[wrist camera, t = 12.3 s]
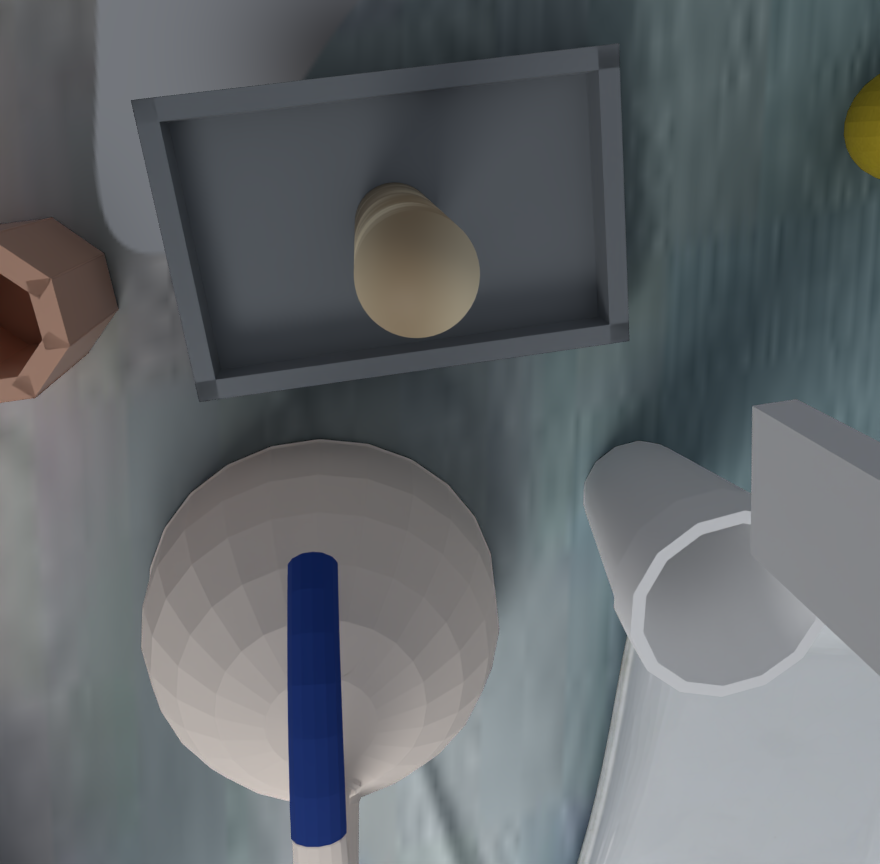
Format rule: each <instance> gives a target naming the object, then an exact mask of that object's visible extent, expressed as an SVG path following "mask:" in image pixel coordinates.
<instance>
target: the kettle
mask: <svg viewBox="0 0 880 864" xmlns="http://www.w3.org/2000/svg"><path fill="white" fill-rule="evenodd" d="M498 634H499V622H498V612H497V603H496V594H495V586H494V577H493V568H492V559H491V553H490V550H489V548H488V546H487V543H486V541H485V539H484V536H483V534H482V532H481V529H480V527H479V525H478V522H477V520H476V518H475V516H474V515H473V514H472V513H471V511H470V510H469V509H468V508H467V507H466V505H465V504H464V503H463V502H462V501H461V499H460V498H459V497H458V496H457V495H456V493H455V492H454V491H453V490H452V488H451V487H450V486H449V485H448V484H447V483H445V482H444V481H442V480H441V479H439V478H438V477H436V476H435V475H434V474H432V473H431V472H429V471H428V470H426V469H425V468H423V467H422V466H420V465H419V464H418V463H416V462H415V461H413V460H412V459H409V458H406V457H403V456H401V455H398V454H395V453H392V452H389V451H387V450H384V449H381V448H378V447H376V446H373V445H370V444H365V443H355V442H345V441H334V440H324V439H317V440H310V441H304V442H297V443H290V444H283V445H277V446H271V447H269V448H266V449H264V450H262V451H259V452H257V453H254V454H252V455H250V456H247V457H245V458H242V459H240V460H238V461H235V462H233V463H230V464H228V465H226V466H225V467H224V468H222V469H221V470H220V471H219V472H217V473H216V474H215V475H213V476H212V477H211V478H209V479H208V480H207V481H206V482H204V483H203V484H202V485H200V486H199V487H198V488H196V489H195V490H194V491H193V492H191V493H190V494H189V496H188V497H187V499H186V500H185V501H184V503H183V504H182V505H181V507H180V508H179V509H178V511H177V512H176V513H175V515H174V516H173V517H172V519H171V520H170V521H169V523H168V524H167V525H166V527H165V528H164V531H163V533H162V536H161V539H160V542H159V545H158V547H157V550H156V553H155V556H154V558H153V561H152V564H151V567H150V579H149V583H148V587H147V591H146V595H145V599H144V603H143V612H142V642H141V649H142V652H143V656H144V659H145V663H146V666H147V670H148V673H149V677H150V680H151V684H152V687H153V690H154V693H155V696H156V698H157V701H158V704H159V707H160V709H161V712H162V713H163V715H164V716H165V718H166V719H167V721H168V722H169V724H170V725H171V727H172V729H173V730H174V732H175V733H176V735H177V736H178V738H179V739H180V741H181V742H182V744H184V745H185V746H186V747H187V748H188V749H189V750H190V751H192V752H193V753H194V754H195V755H196V756H197V757H199V758H200V759H201V760H202V761H203V762H204V763H205V764H207V765H208V766H209V767H210V768H211V769H213V770H214V771H216V772H218V773H220V774H221V775H223V776H225V777H226V778H228V779H230V780H232V781H234V782H236V783H238V784H240V785H242V786H244V787H246V788H248V789H250V790H252V791H254V792H256V793H258V794H262V795H266V796H270V797H274V798H278V799H282V800H286V801H290V820H291V839H292V840H293V864H358V860H359V801H360V799H361V797H363V796H365V795H368V794H370V793H373V792H375V791H378V790H380V789H383V788H385V787H388V786H390V785H392V784H395V783H396V782H398V781H400V780H401V779H403V778H404V777H406V776H408V775H409V774H411V773H412V772H413V771H415V770H416V769H418V768H419V767H421V766H422V765H424V764H425V763H427V762H428V761H429V760H431V759H432V758H434V757H435V756H437V755H438V754H440V753H441V751H442V750H443V749H444V748H445V747H446V746H447V745H448V744H449V743H450V741H451V740H452V739H453V738H454V737H455V736H456V735H457V734H458V733H459V731H460V730H461V729H462V728H463V727H464V726H465V725H466V723H467V721H468V719H469V717H470V715H471V713H472V711H473V709H474V707H475V705H476V703H477V701H478V699H479V697H480V695H481V693H482V691H483V689H484V686H485V684H486V681H487V679H488V676H489V674H490V671H491V669H492V665H493V660H494V655H495V650H496V644H497V639H498Z"/></svg>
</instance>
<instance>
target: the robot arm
mask: <svg viewBox="0 0 880 864" xmlns="http://www.w3.org/2000/svg"><path fill="white" fill-rule="evenodd" d="M750 554H751V555H752V556H753V557H754V558H755V559H756V560H757V561H758V562H759V563H760V564H761V565H762V566H763V567H764V568H765V569H766V570H768V571H769V572H770V573H771V574H772V575H773V576H774V577H775V578H776V579H777V580H778V581H779V582H780V583H781V584H782V585H783V586H785V587H786V588H787V589H788V590H789V591H790V592H791V593H792V594H793V595H794V596H795V597H796V598H797V599H798V600H799V601H800V602H802V603H803V604H804V605H805V606H806V607H807V608H808V609H809V610H810V611H811V612H812V613H813V614H814V615H815V616H816V617H817V618H819V619H820V620H821V621H822V622H823V623H824V624H825V625H826V626H827V627H828V628H829V629H830V630H831V631H832V632H833V633H834V634H836V635H837V636H838V637H839V638H840V639H841V640H842V641H843V642H844V643H845V644H846V645H847V646H848V647H849V648H850V649H851V650H853V651H854V652H855V653H856V654H857V655H858V656H859V657H860V658H861V659H862V660H863V661H864V662H865V663H866V664H867V665H868V666H870V667H871V668H872V669H873V670H874V671H875V672H876V673H877V674H878V675H879V676H880V442H878V441H876V440H874V439H872V438H871V437H869V436H867V435H865V434H863V433H861V432H859V431H857V430H855V429H853V428H851V427H849V426H847V425H845V424H844V423H842V422H840V421H838V420H836V419H834V418H832V417H830V416H828V415H826V414H824V413H822V412H820V411H818V410H817V409H815V408H813V407H811V406H809V405H807V404H805V403H803V402H801V401H799V400H797V399H794V400H788V401H781V402H775V403H768V404H762V405H755V406H752V479H751V553H750Z"/></svg>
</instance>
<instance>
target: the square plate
mask: <svg viewBox="0 0 880 864" xmlns="http://www.w3.org/2000/svg"><path fill="white" fill-rule="evenodd" d="M577 864H880V676H879V675H878V674H877V673H876V672H875V671H874V670H873V669H872V668H871V667H870V666H868V665H867V664H866V663H865V662H864V661H863V660H862V659H861V658H860V657H859V656H858V655H857V654H856V653H855V652H854V651H853V650H851V649H850V648H849V647H848V646H847V645H846V644H845V643H844V642H843V641H842V640H841V639H840V638H839V637H838V636H837V635H836V634H834V633H833V632H832V631H831V630H830V629H829V628H828V627H827V626H826V625H825V626H824V627H823V629H822V630H821V632H820V633H819V635H818V636H817V638H816V639H815V641H814V642H813V644H812V645H811V647H810V648H809V650H808V651H807V653H806V654H805V656H804V657H803V658H802V659H801V660H799V661H798V662H797V663H795V664H794V665H792V666H791V667H790V668H788V669H787V670H785V671H784V672H783V673H781V674H780V675H778V676H777V677H776V678H774V679H773V680H771V681H770V682H769V683H767V684H766V685H763V686H759V687H756V688H752V689H748V690H745V691H741V692H737V693H734V694H730V695H727V696H723V697H719V696H710V695H702V694H693V693H684V692H679V691H678V690H676V689H675V688H673V687H671V686H670V685H668V684H667V683H665V682H664V681H662V680H661V679H659V678H658V677H656V676H655V675H653V674H652V673H650V672H649V671H647V669H646V668H645V666H644V664H643V663H642V661H641V659H640V657H639V656H638V654H637V652H636V650H635V649H634V647H633V645H632V644H631V642H630V640H629V638H628V636H627V639H626V644H625V649H624V653H623V658H622V663H621V669H620V674H619V680H618V685H617V691H616V697H615V702H614V708H613V713H612V719H611V724H610V730H609V735H608V740H607V745H606V750H605V755H604V760H603V765H602V770H601V774H600V778H599V783H598V787H597V791H596V795H595V800H594V804H593V808H592V812H591V816H590V820H589V824H588V827H587V831H586V835H585V839H584V842H583V845H582V849H581V852H580V856H579V859H578V862H577Z"/></svg>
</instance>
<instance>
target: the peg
mask: <svg viewBox="0 0 880 864" xmlns="http://www.w3.org/2000/svg"><path fill="white" fill-rule="evenodd" d="M479 281H480V266H479V260H478V257H477V253H476V251H475V248H474V246H473V244H472V242H471V241H470V239H469V238H468V236H467V235H466V234H465V233H464V231H463V230H462V229H461V228H460V227H458V226H457V225H456V224H455V223H454V222H453V221H452V220H451V219H450V218H449V217H447V216H446V215H445V214H444V213H443V212H442V211H441V210H440V209H439V208H437V207H436V206H435V205H434V204H433V203H432V202H431V201H430V200H429V199H428V198H426V197H425V196H424V195H423V194H422V193H421V192H420V191H418V190H417V189H416V188H414V187H412V186H410V185H407V184H403V183H396V182H393V183H385V184H382V185H379V186H377V187H375V188H374V189H372V190H371V191H369V192H368V193H367V194H366V195H365V196H364V198H363V199H362V201H361V202H360V204H359V206H358V208H357V211H356V216H355V236H354V284H355V289H356V293H357V296H358V299H359V301H360V303H361V305H362V307H363V309H364V310H365V311H366V313H367V314H368V315H369V317H370V318H371V319H372V320H373V321H374V322H375V323H377V324H378V325H379V326H380V327H382V328H383V329H385V330H387V331H389V332H391V333H393V334H396V335H399V336H403V337H408V338H425V337H430V336H434V335H437V334H440V333H442V332H444V331H446V330H448V329H450V328H451V327H453V326H454V325H455V324H457V323H458V322H459V321H460V320H461V319H462V318H463V317H464V316H465V315H466V313H467V312H468V311H469V309H470V308H471V306H472V304H473V302H474V300H475V298H476V295H477V292H478V288H479Z"/></svg>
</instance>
